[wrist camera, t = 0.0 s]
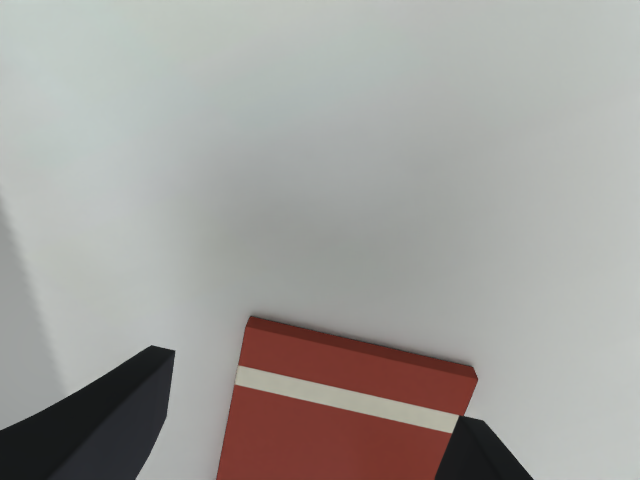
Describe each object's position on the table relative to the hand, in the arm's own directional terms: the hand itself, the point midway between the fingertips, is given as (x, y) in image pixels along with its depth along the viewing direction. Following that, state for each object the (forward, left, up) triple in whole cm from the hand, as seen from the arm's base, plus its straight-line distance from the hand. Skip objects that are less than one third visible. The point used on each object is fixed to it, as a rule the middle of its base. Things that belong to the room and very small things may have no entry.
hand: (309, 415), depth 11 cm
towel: (-12, -2, -10) cm, 16 cm away
